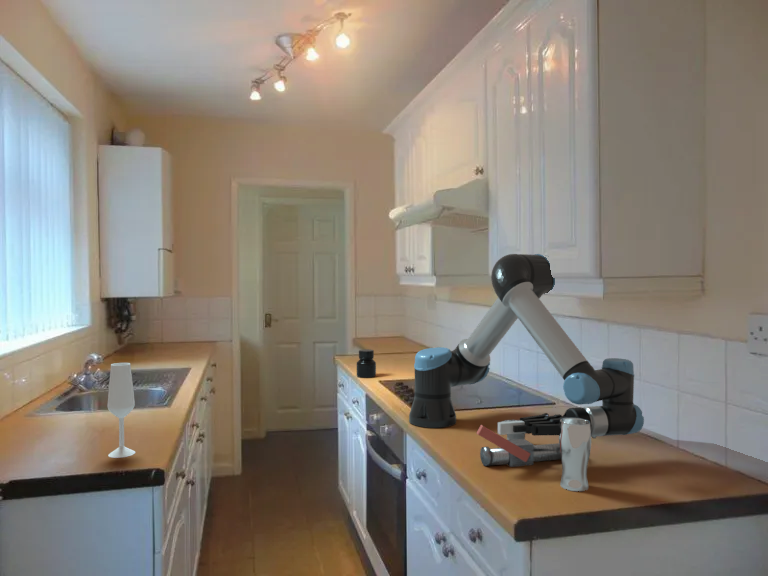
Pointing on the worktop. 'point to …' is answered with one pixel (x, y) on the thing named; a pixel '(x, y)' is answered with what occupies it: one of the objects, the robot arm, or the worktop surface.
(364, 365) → the ink bottle
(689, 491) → the worktop surface
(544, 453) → the valve
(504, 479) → the worktop surface
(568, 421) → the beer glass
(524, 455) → the lever
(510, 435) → the showerhead
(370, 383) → the worktop surface
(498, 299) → the robot arm
